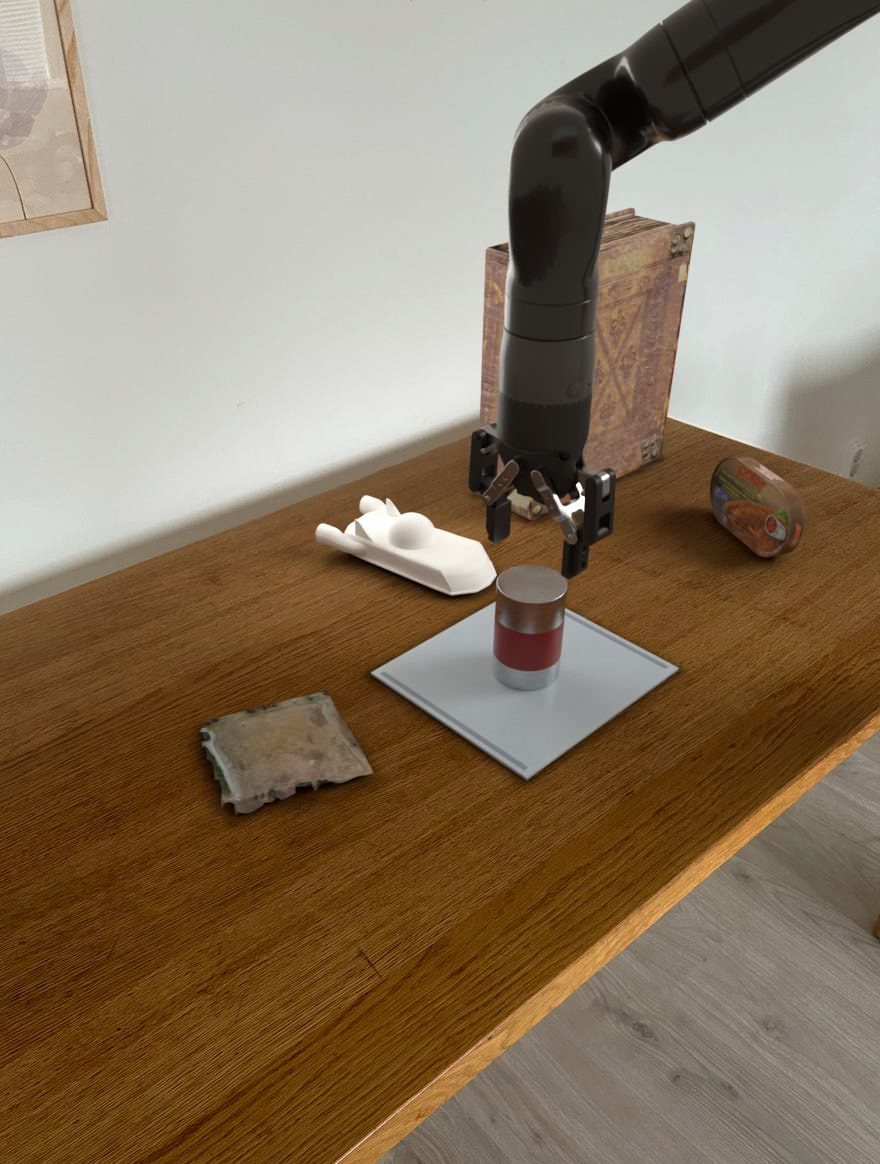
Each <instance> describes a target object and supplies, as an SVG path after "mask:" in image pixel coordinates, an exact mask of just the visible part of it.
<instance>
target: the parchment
mask: <svg viewBox="0 0 880 1164" xmlns="http://www.w3.org/2000/svg"><path fill="white" fill-rule="evenodd" d="M198 733H201V734H202V737H203V738H202V739H201V748H202V749H204V750H205V752H206V753H205V755H206V760H207V761H210V762H211V764H212V766H213V773H214V780H215V781H219V785H220V788H221V796H220V797H221V798H220V807H221V809H222V808H224V806H225V804H227V803H231V804H233V809H234V814H235V816H237V815H238V814H250V813H254V812H255V811H256V810H258V809H259V808H261V807H262V806H263V805H264V804H266V803H272V802H274V801H275V800H277V799H280V800H281V801H283V800H285V799H287V798H289V797H291V796H292V795H294V794H296V793H297V790H296V789H297V788H299V787H301V788H303V787H311V788H313V790H314V792H316V791H317V790H318V788H319V787H320V786H321V785H324V784H328V783H330V782H331V783H334V784H342V783H345V782H348V781H350V780H353V779H354V778H357V777H363V776H368V775H369V776H370V775H371V774H374V771H373V769H372V767H371V765H370V763H369V761H368V759H367V757H366V754H365V752H364V750H363V749H362V748H361V745H360V744H359V742H358V740H357V739H356V738H355V736H354V734H353V732H352V731H351V729H350V728H349V726H348V724H347V723H346V722H345V720H344V719H343V717H342V715H341V714H340V712H339V710H338V708H337V706H336V705H335V702H334V701H333V699H332V696H331V694H330V693H329V692H327V690H324V691H321V692H316V693H312V694H309V695H302V696H298V697H294V698H290V699H286V700H283V701H279V702H275V703H272V704H271V703H270V704H265V705H263V706H262V707H257V708H250V709H246V710H243V711H239V712H234V713H231V714H227V715H223V716H219V717H218V716H217V717H213V718H211V719H210V720H204V724H203V726H202V728H201V729H200V730H199V731H198Z"/></svg>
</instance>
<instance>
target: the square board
mask: <svg viewBox="0 0 880 1164" xmlns="http://www.w3.org/2000/svg"><path fill="white" fill-rule="evenodd" d="M495 604H496V601H494V602H492V603H490V604H488V605H487V606H485V607H483V608H482V609H480V610H478V611H476V612H474V613H473V614H471V615H469V616H467V617H466V618H464V619H461V621H458V622H457V623H455V624H454V625H451V626H450V627H448V628H447V629H445V630H443V631H441V632H439V633H438V634H436V635H434V636H433V637H432V636H431V637H430V638H429V639H427V640H425V641H424V642H422V643H420V644H418V645H416V646H414V647H413V648H411V649H409V650H408V651H406V652H404V653H402V654H401V655H399V656H397V657H395V658H393V659H391V660H390V661H388V662H387V663H385V664H383V665H381V666H380V667H378V668H376V669H374V670H372V671H371V672H370V676H372V677H373V678H375V679H376V680H378V681H379V682H381V683H382V684H384V685H385V686H387V687H388V688H390V689H391V690H393V691H394V692H395V693H397V694H398V695H400V696H401V697H403V698H404V699H406V700H408V701H409V702H410V703H412V704H413V705H415V706H416V707H418V708H419V709H420V710H422V711H424V712H425V713H426V714H427V715H429V716H431V717H432V718H433V719H435V720H437V721H438V722H440V723H441V724H443V725H445V726H446V727H447V728H448V729H450V730H451V731H452V732H455V733H456V734H458V735H459V736H461V737H462V738H464V739H465V740H466V741H468V743H469V742H470V743H471V744H472V745H474V746H475V747H477V749H479V750H481V751H482V752H484V753H485V754H487V755H488V756H490V757H492V758H493V759H494V760H495V761H497V762H499V763H500V764H502V765H503V766H504V767H506V768H507V769H509V770H511V771H512V772H514V773H515V774H517V775H518V776H519V777H520V778H522V779H524V780H525V781H528V780H529V779H531V778H532V777H533V776H535V775H537V774H538V773H539V772H541V771H542V770H543V769H545V768H546V767H547V766H549V765H550V764H552V763H553V762H554V761H556V760H557V759H558V758H559V757H561V756H563V755H564V754H565V753H567V752H568V751H569V750H571V749H572V748H574V747H575V746H576V745H578V744H579V743H581V742H582V741H583V740H585V739H586V738H588V737H589V736H590V735H591V734H593V733H594V732H595V731H597V730H598V729H599V728H601V727H603V726H604V725H605V724H606V723H608V722H609V721H611V720H612V719H613V718H615V717H616V716H617V715H620V713H622V712H623V711H625V710H626V709H627V708H628V707H630V706H631V705H632V704H634V703H635V702H637V701H638V700H639V699H641V698H642V697H644V696H645V695H647V694H648V693H649V692H650V691H652V690H654V689H655V688H656V687H658V686H659V685H660V684H662V683H663V682H664V681H666V680H668V679H669V678H670V677H671V676H672V675H673V674H675V673H677V672H678V671H679V669H680V668H679V667H678V666H676V665H675V664H673V663H670V662H669V661H667V660H665V659H662V658H661V657H660V656H657V655H655V654H654V653H652V652H649V651H648V650H646V649H645V648H642V647H640V646H639V645H637V644H634V643H633V642H631V641H629V640H627V639H625V638H623V637H621V636H620V635H618V634H616V633H613V632H611V631H610V630H608V629H606V628H604V627H603V626H601V625H599V624H596V623H595V622H593V621H591V620H589V619H588V618H585V617H583V616H581V615H579V614H578V613H576V612H574V611H572V610H570V609H568V608H565V620H564V630H563V639H562V649H561V657H560V666H559V675H558V677H557V679H556V681H555V682H554V683H553V684H551V685H550V686H548V687H546V688H543V689H540V690H534V691H523V690H517V689H513V688H510V687H507V686H505V685H503V684H502V683H500V682H499V681H498V680H497V679H496V678H495V676H494V674H493V672H492V661H493V638H494V619H495Z"/></svg>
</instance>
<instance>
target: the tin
mask: <svg viewBox="0 0 880 1164" xmlns="http://www.w3.org/2000/svg"><path fill="white" fill-rule="evenodd" d="M709 501H710V506H711V509H712V512H713V514H714V517H715V518H716V520H717V522H718V523H719V524H720V525H721V526H723V528H725V529H726V530H727V531H728V532H729V533H731V534H732V535H733V536H734V537H736V538H737V539H738V540H739V541H741V543H743V544H744V546H746V547H747V548H749V550H751V551H752V552H753V553H755V555H758V556H759V557H761V558H772V557H776V556H784V555H787V554H790V553H792V552H793V551H794V550H796V549H797V547H799V545H800V543H801V540H802V538H803V535H804V531H805V527H806V523H807V522H806V521H807V512H806V507H805V504H804V501H803V499H802V496H801V494H800V493H799V491H798V490H797V489H796V488H795V487H794V486H793V485H791V483H789V482H787V480H785V479H784V478H782V477H781V476H779V475H778V474H777V473H775V472H773V471H772V470H770V469H769V468H768V467H767V466H765V465H764V464H763V463H762V462H760V461H758V460H757V459H755V458H754V457H751V456H739V457H738V456H737V457H733V456H729V457H725V458H723V459H721V460H720V461H719V462H718V463H717V464H716V466H715V468H714V469H713V472H712V473H711V477H710V483H709Z"/></svg>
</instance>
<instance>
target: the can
mask: <svg viewBox="0 0 880 1164" xmlns="http://www.w3.org/2000/svg"><path fill="white" fill-rule="evenodd" d="M568 585H569V584H568V581H567V578H565V577H562V576H561V572H559V571H557V570H555V569H553V568H551V567H548V566H544V565H539V564H519V565H515V566H511V567H509V568H507V569H505V570H503V571H502V572H500V574H499V575H498V577H497V578H496V586H495V587H496V588H495V589H496V590H495V602H496V604H495V619H494V638H493V661H492V672H493V674H494V676H495V678H496V679H497V680H498V681H499V682H500V683H502V684H503V685H505V686H507V687H510V688H513V689H517V690H523V691H534V690H540V689H543V688H546V687H548V686H550V685H551V684H553V683H554V682H555V681H556V679H557V677H558V675H559V666H560V657H561V649H562V639H563V630H564V620H565V608H566V607H567V598H568V589H569V587H568ZM566 609H567V608H566Z"/></svg>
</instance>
